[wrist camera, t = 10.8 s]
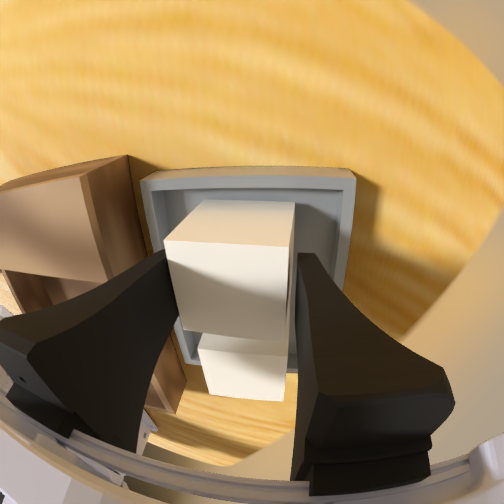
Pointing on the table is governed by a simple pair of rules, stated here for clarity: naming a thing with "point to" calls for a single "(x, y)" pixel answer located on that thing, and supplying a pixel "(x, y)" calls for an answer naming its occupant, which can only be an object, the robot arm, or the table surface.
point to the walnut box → (78, 246)
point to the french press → (3, 378)
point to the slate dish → (260, 189)
